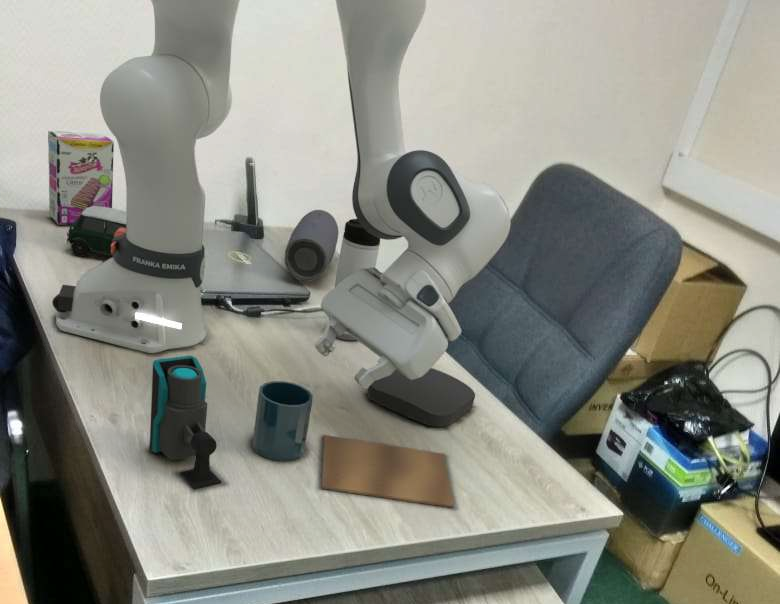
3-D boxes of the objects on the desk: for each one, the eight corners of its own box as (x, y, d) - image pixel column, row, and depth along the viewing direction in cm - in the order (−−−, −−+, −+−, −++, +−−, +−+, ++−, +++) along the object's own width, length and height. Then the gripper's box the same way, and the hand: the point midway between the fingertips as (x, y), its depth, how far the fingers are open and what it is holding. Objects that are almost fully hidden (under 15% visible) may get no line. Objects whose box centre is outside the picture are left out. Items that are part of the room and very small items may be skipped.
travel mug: (358, 344, 140) (381, 229, 129) (322, 334, 141) (342, 218, 130) (366, 332, 146) (389, 221, 134) (332, 323, 146) (351, 210, 135)
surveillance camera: (193, 399, 88) (150, 360, 93) (186, 491, 94) (147, 449, 100) (238, 392, 91) (194, 354, 97) (228, 481, 98) (188, 441, 103)
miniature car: (161, 274, 148) (163, 230, 144) (62, 253, 147) (61, 208, 142) (173, 259, 156) (176, 217, 151) (79, 239, 154) (79, 196, 150)
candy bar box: (58, 226, 158) (56, 137, 149) (49, 218, 161) (46, 129, 151) (113, 226, 165) (114, 140, 156) (103, 217, 167) (103, 133, 158)
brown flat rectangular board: (321, 488, 101) (322, 486, 100) (323, 437, 111) (324, 435, 111) (452, 507, 103) (453, 505, 103) (442, 456, 114) (443, 453, 114)
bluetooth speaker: (294, 249, 177) (301, 202, 171) (336, 258, 177) (344, 212, 172) (278, 281, 158) (284, 230, 152) (324, 291, 158) (333, 241, 153)
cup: (250, 456, 103) (257, 401, 99) (254, 430, 109) (261, 377, 104) (302, 464, 104) (311, 410, 100) (304, 438, 110) (313, 386, 106)
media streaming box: (440, 434, 119) (445, 416, 117) (357, 397, 124) (361, 379, 122) (479, 404, 130) (484, 387, 129) (402, 371, 135) (406, 354, 133)
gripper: (357, 247, 109) (285, 319, 109) (452, 307, 97) (372, 389, 97) (377, 278, 114) (308, 347, 114) (470, 338, 102) (394, 416, 102)
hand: (338, 367), depth 105 cm, fingers open, 8 cm apart
